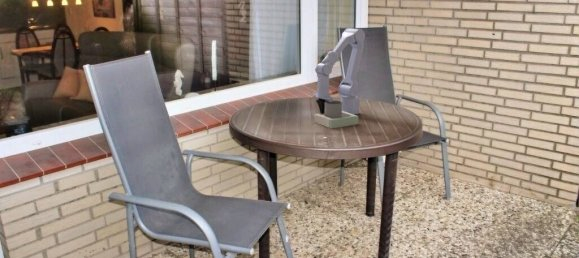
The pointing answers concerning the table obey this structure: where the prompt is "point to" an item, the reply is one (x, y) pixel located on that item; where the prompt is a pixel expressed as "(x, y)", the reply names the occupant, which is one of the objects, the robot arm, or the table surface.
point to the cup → (333, 109)
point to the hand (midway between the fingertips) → (322, 113)
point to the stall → (337, 120)
